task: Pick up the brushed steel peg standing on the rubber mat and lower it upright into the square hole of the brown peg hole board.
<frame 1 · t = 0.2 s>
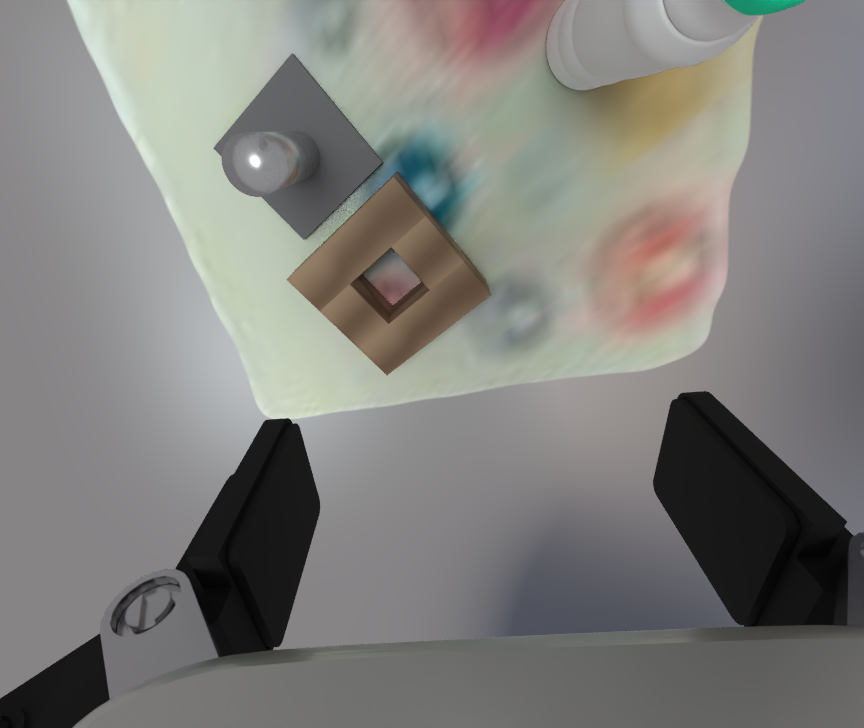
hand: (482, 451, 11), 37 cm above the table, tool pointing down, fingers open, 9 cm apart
steel peg: (298, 155, 40), point 1 cm above the table, touching rubber mat
rubber mat: (300, 155, 41), on the table
water bottle: (585, 42, 37), on the table
brown peg hole board: (393, 272, 46), on the table
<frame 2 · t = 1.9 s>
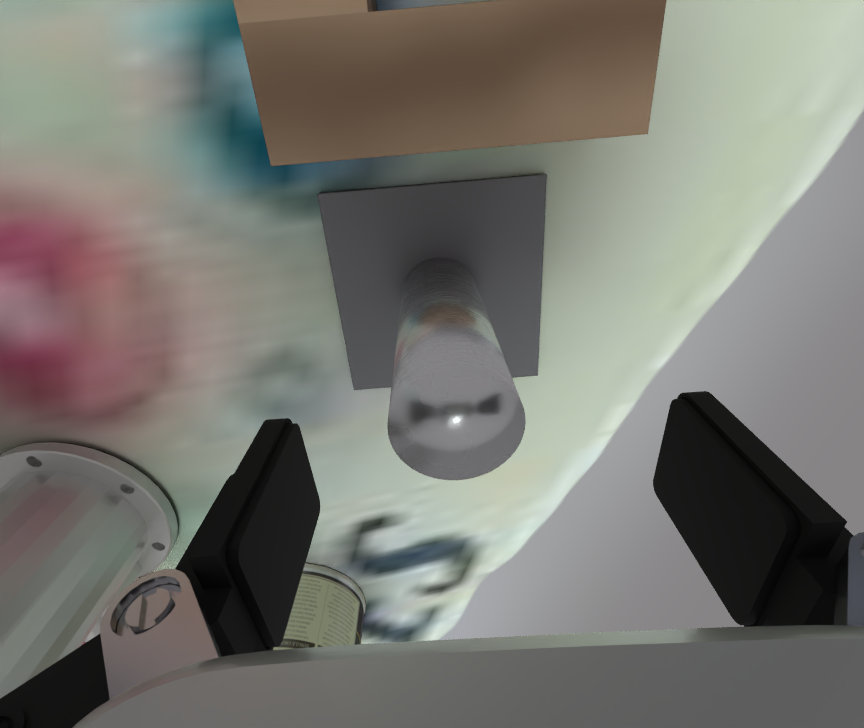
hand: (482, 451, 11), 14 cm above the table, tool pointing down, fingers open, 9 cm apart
steel peg: (439, 294, 23), point 1 cm above the table, touching rubber mat
rubber mat: (438, 291, 24), on the table
coffee can: (305, 600, 36), on the table
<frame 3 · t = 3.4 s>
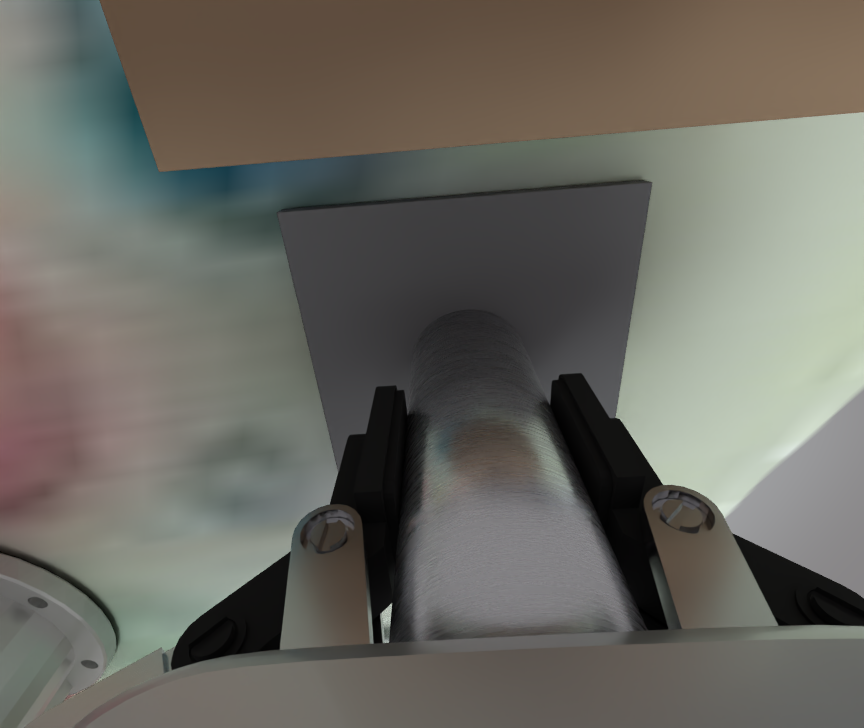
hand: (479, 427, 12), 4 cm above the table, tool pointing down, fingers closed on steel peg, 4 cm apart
steel peg: (468, 362, 15), point 1 cm above the table, touching gripper, rubber mat
rubber mat: (467, 354, 16), on the table
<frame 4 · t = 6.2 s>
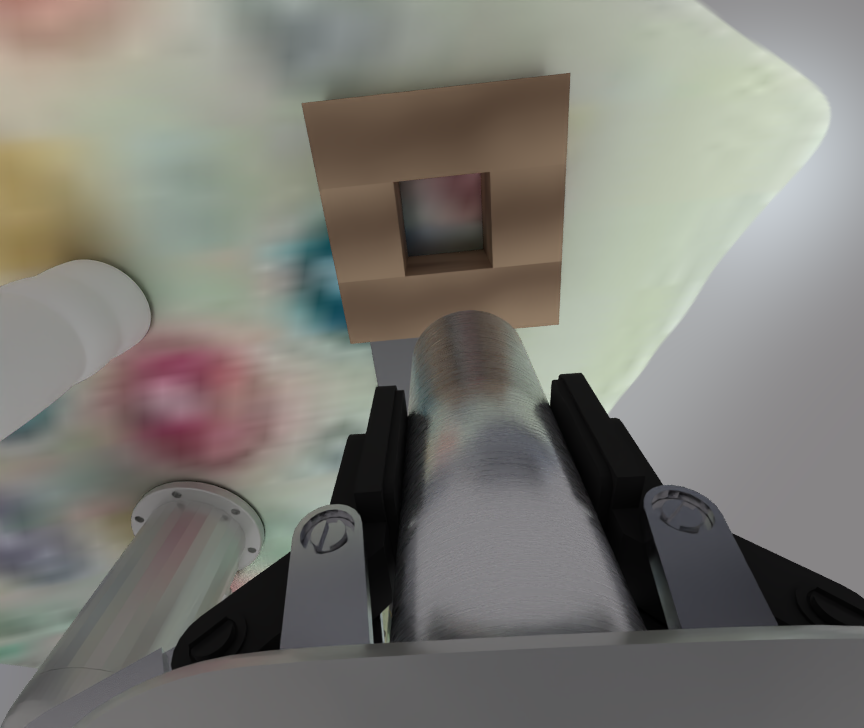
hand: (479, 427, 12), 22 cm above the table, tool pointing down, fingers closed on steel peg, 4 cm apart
steel peg: (468, 363, 15), point 18 cm above the table, touching gripper
rubber mat: (444, 386, 37), on the table
water bottle: (108, 302, 33), on the table
brown peg hole board: (442, 213, 30), on the table
when the fingers open (6 cm above the table, at t = 9.0 s): steel peg drops 2 cm, resting in brown peg hole board.
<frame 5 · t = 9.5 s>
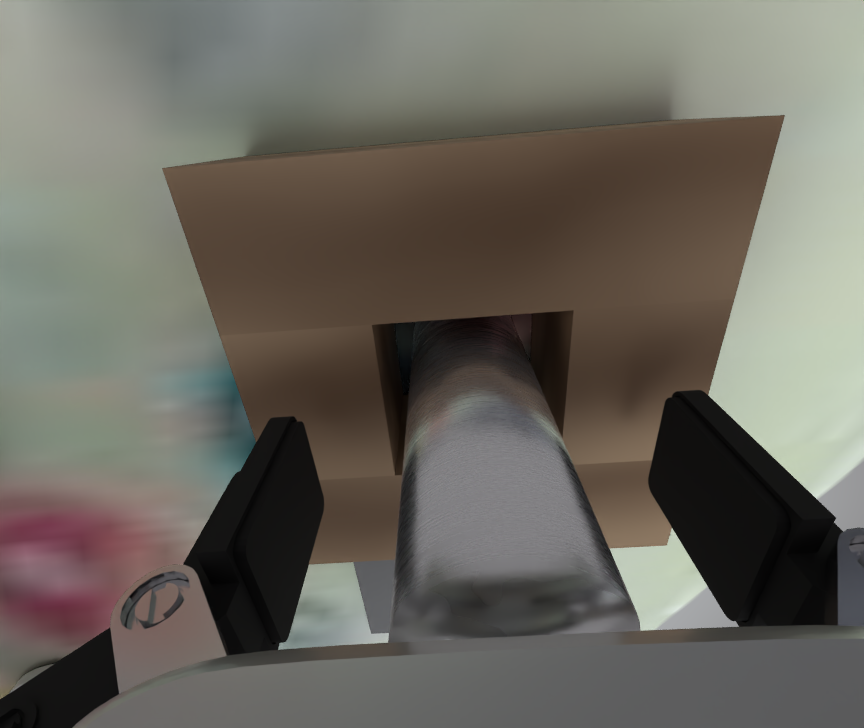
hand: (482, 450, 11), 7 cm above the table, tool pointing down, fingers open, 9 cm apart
steel peg: (463, 334, 17), resting in brown peg hole board
rubber mat: (455, 561, 24), on the table
brown peg hole board: (463, 333, 17), on the table
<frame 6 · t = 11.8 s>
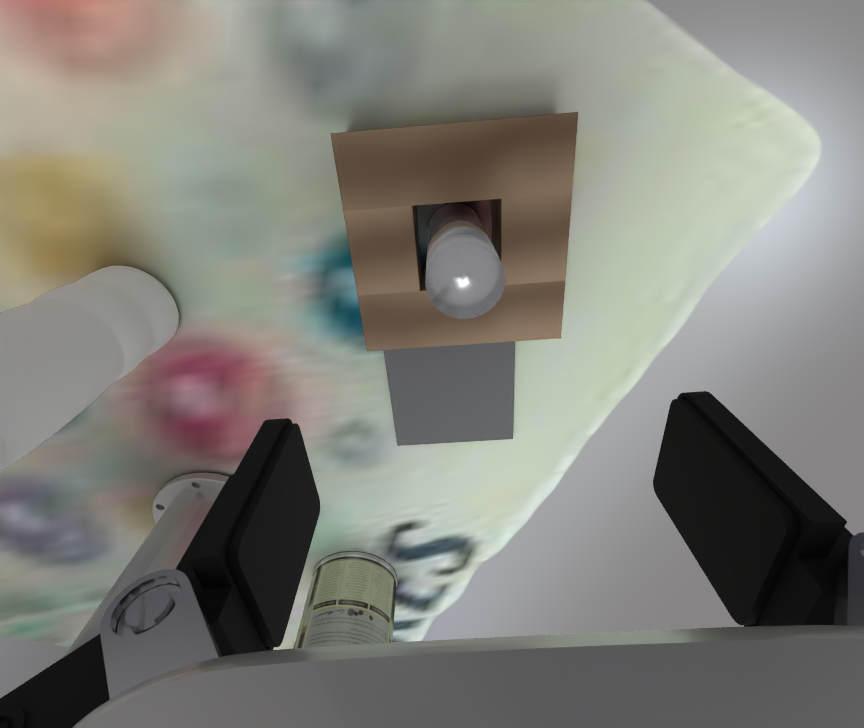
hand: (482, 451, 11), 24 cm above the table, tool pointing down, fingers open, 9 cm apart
steel peg: (454, 231, 32), resting in brown peg hole board
rubber mat: (451, 390, 39), on the table
water bottle: (139, 304, 35), on the table
coffee can: (355, 577, 52), on the table
brown peg hole board: (455, 230, 32), on the table
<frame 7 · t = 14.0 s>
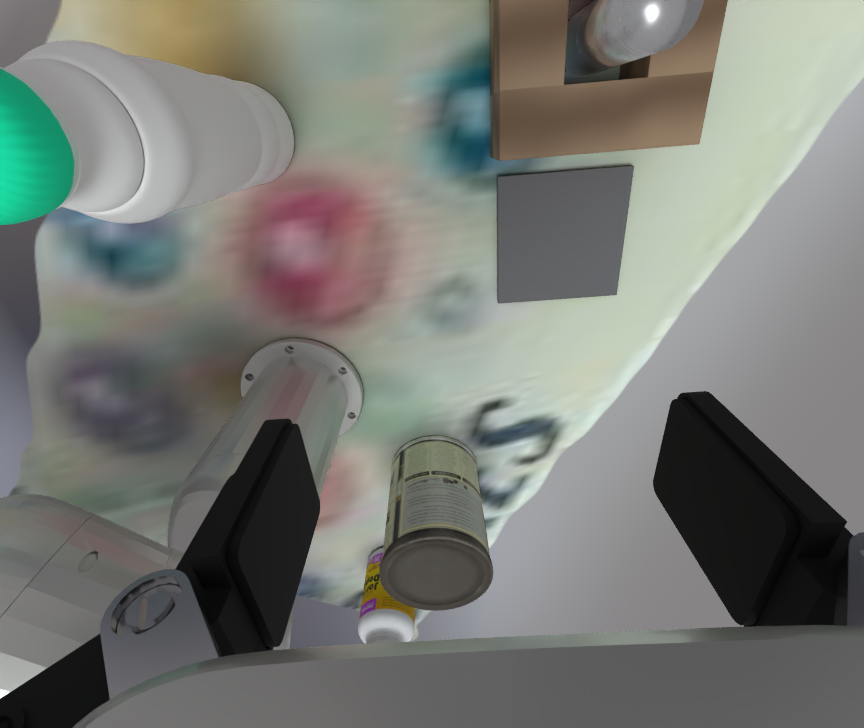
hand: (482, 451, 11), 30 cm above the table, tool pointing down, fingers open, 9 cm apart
steel peg: (585, 44, 32), resting in brown peg hole board
rubber mat: (559, 238, 38), on the table
supplement bottle: (392, 559, 59), on the table
water bottle: (252, 135, 34), on the table
coffee can: (434, 467, 51), on the table
brown peg hole board: (585, 43, 32), on the table
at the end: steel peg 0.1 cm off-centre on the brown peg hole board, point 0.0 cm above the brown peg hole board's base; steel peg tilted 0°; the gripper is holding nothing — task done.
